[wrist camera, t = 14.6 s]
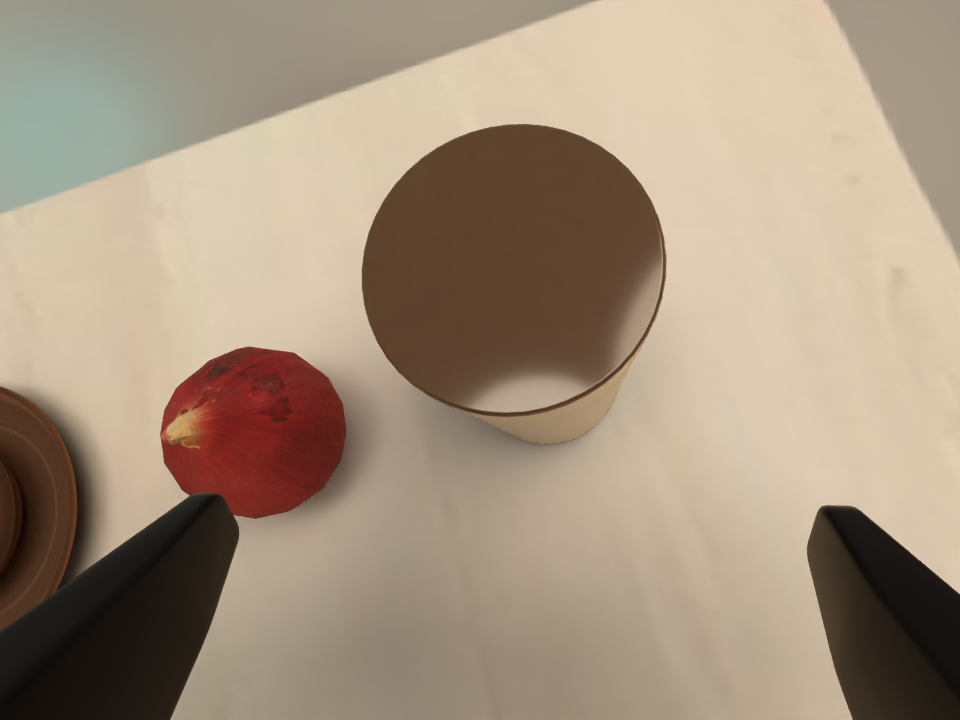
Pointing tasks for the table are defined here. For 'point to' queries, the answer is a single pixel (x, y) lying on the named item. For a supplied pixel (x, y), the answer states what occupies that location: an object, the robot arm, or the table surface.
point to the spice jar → (516, 278)
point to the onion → (254, 431)
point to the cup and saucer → (32, 506)
